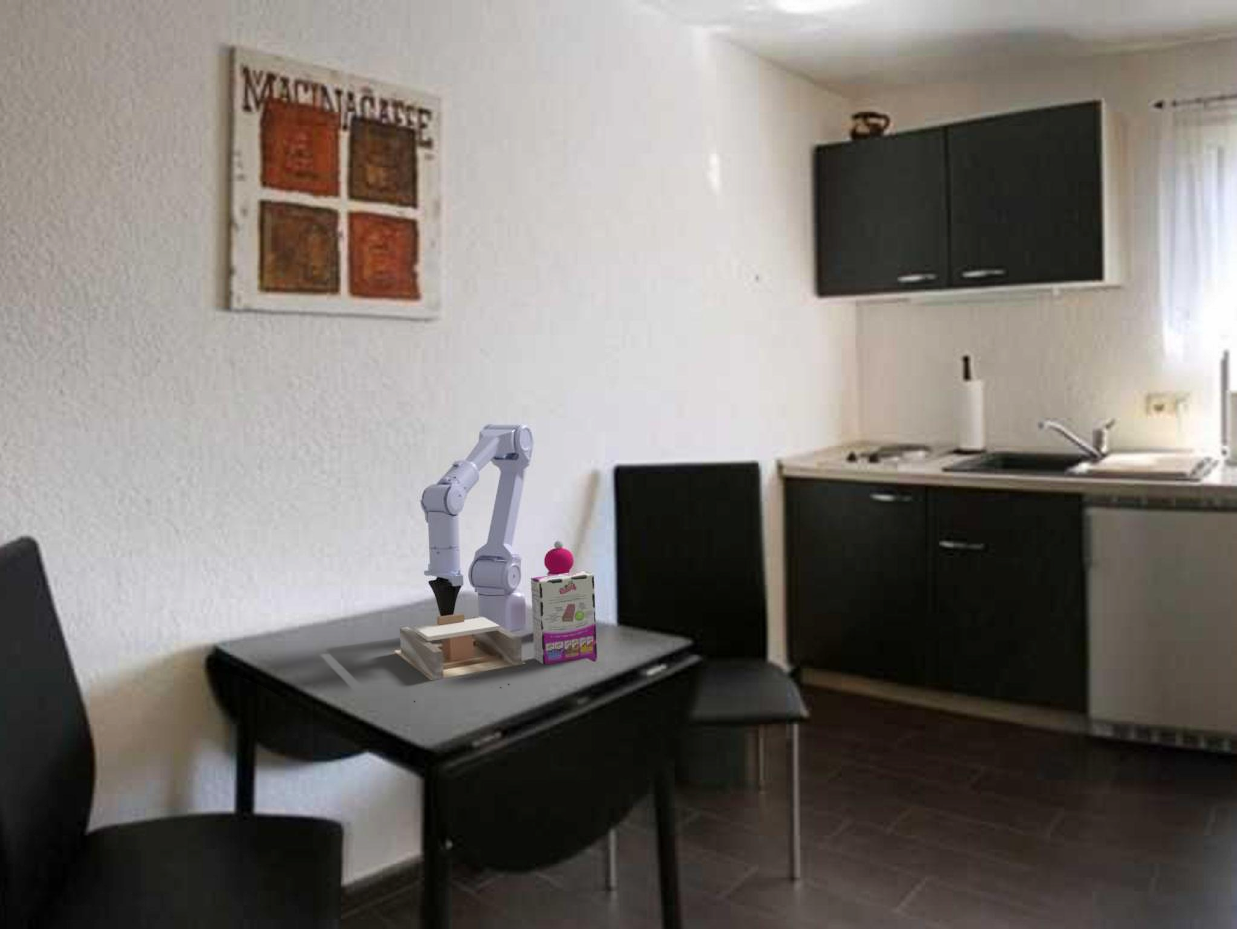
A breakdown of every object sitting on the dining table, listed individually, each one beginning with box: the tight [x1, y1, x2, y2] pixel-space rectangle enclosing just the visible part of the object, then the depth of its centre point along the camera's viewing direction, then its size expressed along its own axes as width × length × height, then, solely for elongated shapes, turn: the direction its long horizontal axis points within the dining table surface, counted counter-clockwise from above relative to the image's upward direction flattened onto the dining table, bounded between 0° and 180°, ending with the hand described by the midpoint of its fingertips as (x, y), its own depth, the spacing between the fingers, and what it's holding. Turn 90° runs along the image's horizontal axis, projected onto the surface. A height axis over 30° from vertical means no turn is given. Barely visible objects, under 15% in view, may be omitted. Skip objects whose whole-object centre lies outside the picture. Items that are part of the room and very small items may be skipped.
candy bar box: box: [530, 570, 598, 665], centre depth 183 cm, size 11×5×16 cm, turn 117°
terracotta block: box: [441, 634, 474, 661], centre depth 185 cm, size 4×4×4 cm
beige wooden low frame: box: [394, 615, 526, 681], centre depth 185 cm, size 18×22×6 cm
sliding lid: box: [413, 613, 500, 642], centre depth 185 cm, size 14×8×2 cm, turn 119°
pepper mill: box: [543, 540, 575, 576], centre depth 200 cm, size 7×7×20 cm
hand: (446, 616), depth 189 cm, fingers closed
